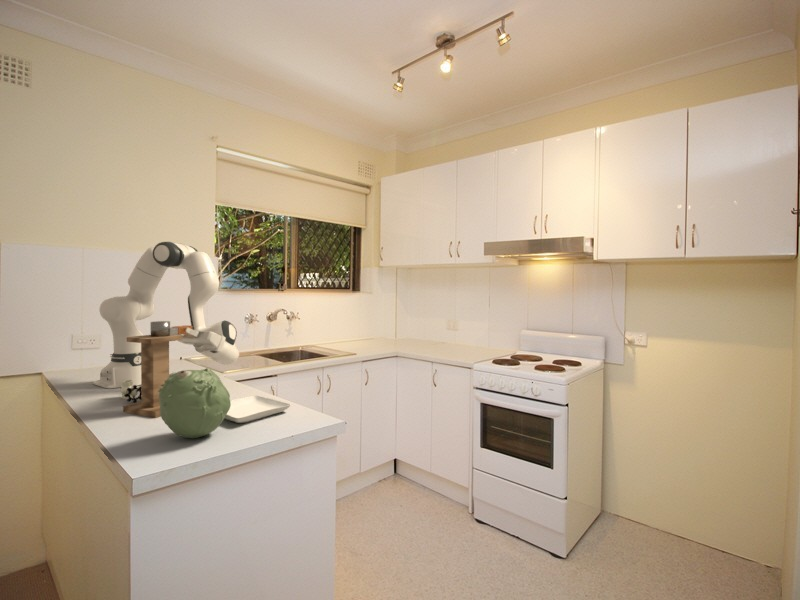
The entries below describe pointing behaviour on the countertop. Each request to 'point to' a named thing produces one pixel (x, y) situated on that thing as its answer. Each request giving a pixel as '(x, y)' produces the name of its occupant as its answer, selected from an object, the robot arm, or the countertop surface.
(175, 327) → the valve lever
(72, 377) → the countertop surface
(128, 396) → the valve
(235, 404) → the salad plate
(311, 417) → the countertop surface
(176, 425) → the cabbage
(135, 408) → the stand
